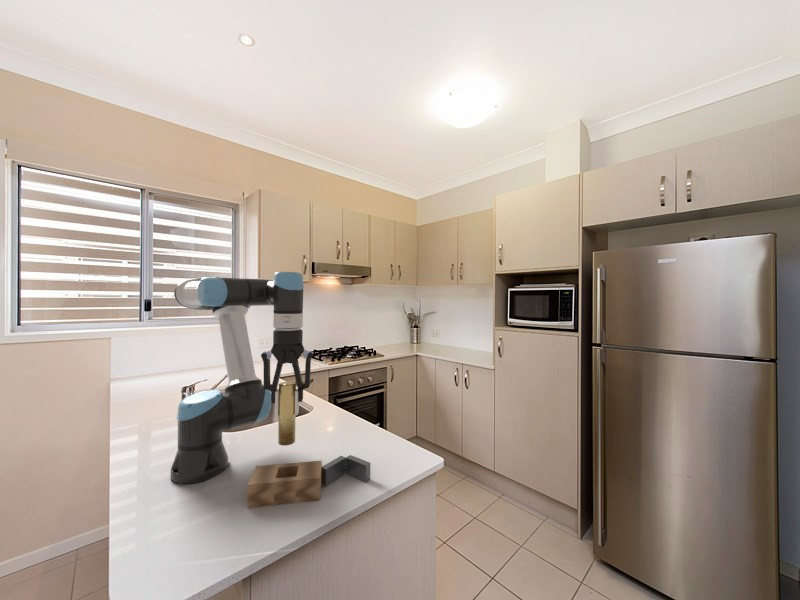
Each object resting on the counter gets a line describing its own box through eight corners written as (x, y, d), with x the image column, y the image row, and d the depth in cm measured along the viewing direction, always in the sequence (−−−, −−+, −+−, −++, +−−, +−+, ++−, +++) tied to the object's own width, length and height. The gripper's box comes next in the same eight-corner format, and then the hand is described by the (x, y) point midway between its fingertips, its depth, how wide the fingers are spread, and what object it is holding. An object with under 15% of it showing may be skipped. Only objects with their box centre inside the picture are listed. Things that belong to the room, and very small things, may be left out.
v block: (320, 487, 91) (321, 469, 91) (321, 473, 98) (322, 457, 98) (370, 482, 94) (370, 465, 94) (368, 469, 101) (368, 453, 101)
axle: (276, 446, 85) (277, 386, 85) (279, 438, 90) (280, 381, 89) (294, 444, 86) (294, 385, 86) (296, 437, 91) (296, 381, 90)
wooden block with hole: (247, 508, 82) (247, 484, 82) (256, 487, 91) (256, 466, 91) (320, 500, 85) (320, 477, 85) (321, 480, 94) (321, 460, 94)
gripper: (250, 330, 82) (249, 421, 82) (320, 330, 85) (319, 417, 86) (257, 327, 89) (256, 410, 90) (321, 327, 93) (320, 407, 93)
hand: (287, 413), depth 88 cm, fingers closed on axle, 4 cm apart
